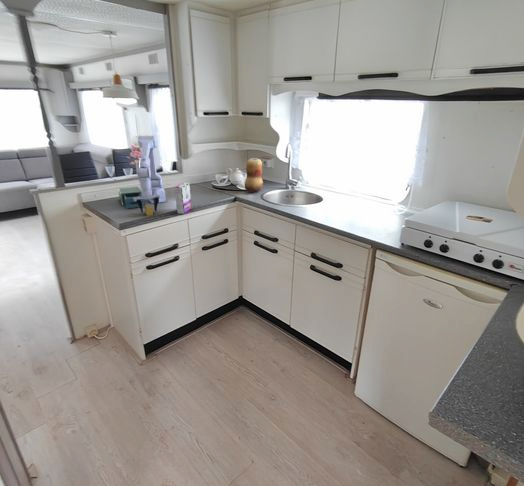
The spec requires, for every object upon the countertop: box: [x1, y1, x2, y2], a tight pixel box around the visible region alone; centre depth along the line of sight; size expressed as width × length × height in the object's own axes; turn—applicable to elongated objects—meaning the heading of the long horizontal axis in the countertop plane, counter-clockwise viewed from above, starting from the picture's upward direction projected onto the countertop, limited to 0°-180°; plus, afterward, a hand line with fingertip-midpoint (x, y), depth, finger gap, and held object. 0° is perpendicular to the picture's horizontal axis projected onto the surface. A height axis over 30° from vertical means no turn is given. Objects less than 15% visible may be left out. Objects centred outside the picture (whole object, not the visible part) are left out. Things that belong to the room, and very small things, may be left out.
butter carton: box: [144, 205, 154, 217], centre depth 191 cm, size 5×3×4 cm
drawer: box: [123, 193, 146, 209], centre depth 204 cm, size 18×11×6 cm, turn 29°
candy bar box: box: [174, 182, 193, 215], centre depth 195 cm, size 11×5×16 cm, turn 168°
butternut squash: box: [244, 157, 264, 194], centre depth 239 cm, size 14×13×25 cm
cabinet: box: [117, 186, 142, 207], centre depth 214 cm, size 15×13×8 cm
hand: (148, 211), depth 191 cm, fingers open, 7 cm apart
